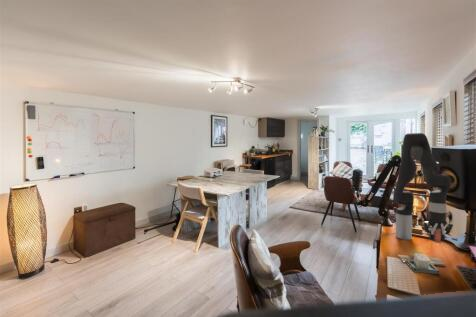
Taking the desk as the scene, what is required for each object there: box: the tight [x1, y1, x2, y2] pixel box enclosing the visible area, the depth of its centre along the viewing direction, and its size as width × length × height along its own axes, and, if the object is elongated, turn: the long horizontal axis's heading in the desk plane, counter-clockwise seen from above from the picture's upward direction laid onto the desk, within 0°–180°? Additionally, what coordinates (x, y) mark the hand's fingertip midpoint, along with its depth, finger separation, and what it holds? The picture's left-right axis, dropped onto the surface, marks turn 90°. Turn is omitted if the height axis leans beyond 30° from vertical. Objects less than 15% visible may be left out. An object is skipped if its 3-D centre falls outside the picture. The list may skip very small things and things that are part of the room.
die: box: [413, 252, 430, 269], centre depth 123 cm, size 5×5×5 cm
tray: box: [406, 260, 440, 275], centre depth 123 cm, size 9×11×2 cm
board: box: [397, 254, 446, 267], centre depth 130 cm, size 7×20×1 cm, turn 75°
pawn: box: [432, 229, 443, 244], centre depth 127 cm, size 4×4×7 cm
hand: (436, 240), depth 128 cm, fingers closed on pawn, 4 cm apart
